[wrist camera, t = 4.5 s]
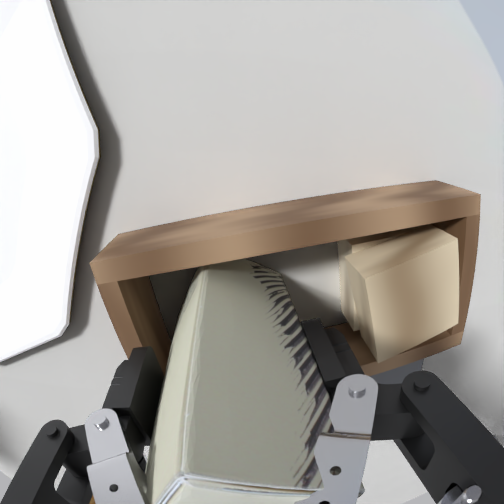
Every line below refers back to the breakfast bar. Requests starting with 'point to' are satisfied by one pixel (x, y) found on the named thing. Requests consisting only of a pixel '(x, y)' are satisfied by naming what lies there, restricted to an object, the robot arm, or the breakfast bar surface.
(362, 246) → the offcut
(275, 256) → the breakfast bar surface
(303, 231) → the wooden tray
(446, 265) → the offcut
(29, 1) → the plate
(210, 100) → the breakfast bar surface
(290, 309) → the box
